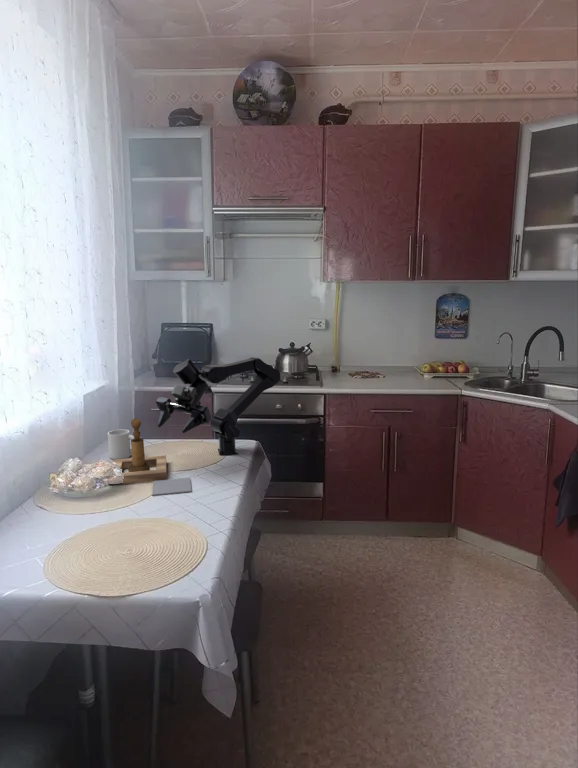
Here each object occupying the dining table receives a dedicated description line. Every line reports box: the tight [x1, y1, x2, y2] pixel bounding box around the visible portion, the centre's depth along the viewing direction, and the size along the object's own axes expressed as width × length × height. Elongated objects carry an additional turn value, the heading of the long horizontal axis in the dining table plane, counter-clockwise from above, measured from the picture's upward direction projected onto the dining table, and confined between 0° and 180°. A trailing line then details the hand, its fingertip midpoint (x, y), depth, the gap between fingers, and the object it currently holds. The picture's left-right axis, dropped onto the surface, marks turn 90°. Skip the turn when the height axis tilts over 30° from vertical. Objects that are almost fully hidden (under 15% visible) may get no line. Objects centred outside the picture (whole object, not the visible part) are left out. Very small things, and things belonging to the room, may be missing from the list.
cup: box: [107, 429, 134, 460], centre depth 183 cm, size 7×10×9 cm
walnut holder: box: [112, 454, 168, 485], centre depth 167 cm, size 17×17×2 cm
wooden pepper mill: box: [127, 417, 151, 472], centre depth 165 cm, size 7×6×18 cm
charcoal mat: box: [151, 477, 192, 497], centre depth 155 cm, size 11×11×1 cm
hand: (170, 429), depth 164 cm, fingers open, 9 cm apart
